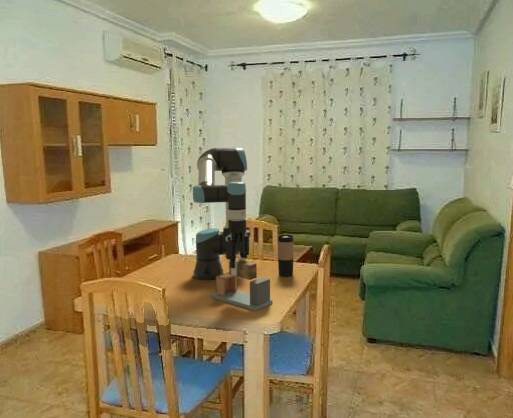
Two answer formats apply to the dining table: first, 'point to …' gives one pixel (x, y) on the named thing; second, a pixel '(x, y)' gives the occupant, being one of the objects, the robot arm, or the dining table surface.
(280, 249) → the travel mug
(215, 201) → the robot arm
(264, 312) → the dining table surface
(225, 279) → the block
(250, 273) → the brown block
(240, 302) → the board
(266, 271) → the dining table surface
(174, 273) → the dining table surface
